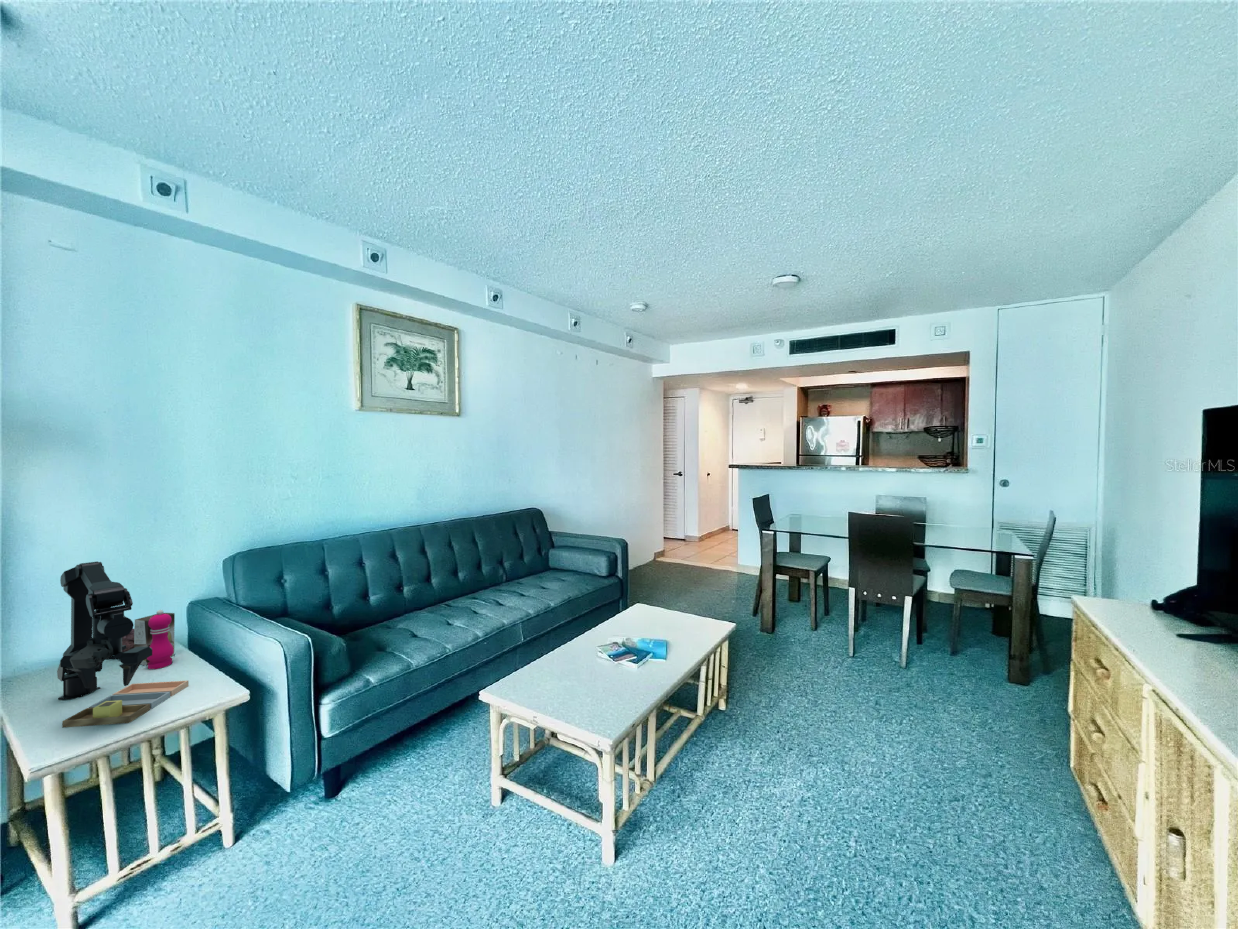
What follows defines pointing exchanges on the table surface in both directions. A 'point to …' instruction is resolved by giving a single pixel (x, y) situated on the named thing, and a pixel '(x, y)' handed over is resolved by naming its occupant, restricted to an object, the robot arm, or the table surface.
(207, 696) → the table surface
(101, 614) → the robot arm
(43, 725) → the table surface
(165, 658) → the pepper mill
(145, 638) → the coffee box
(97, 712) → the letter cube
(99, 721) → the tray
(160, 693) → the tray
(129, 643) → the pine cone
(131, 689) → the tray
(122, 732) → the table surface
